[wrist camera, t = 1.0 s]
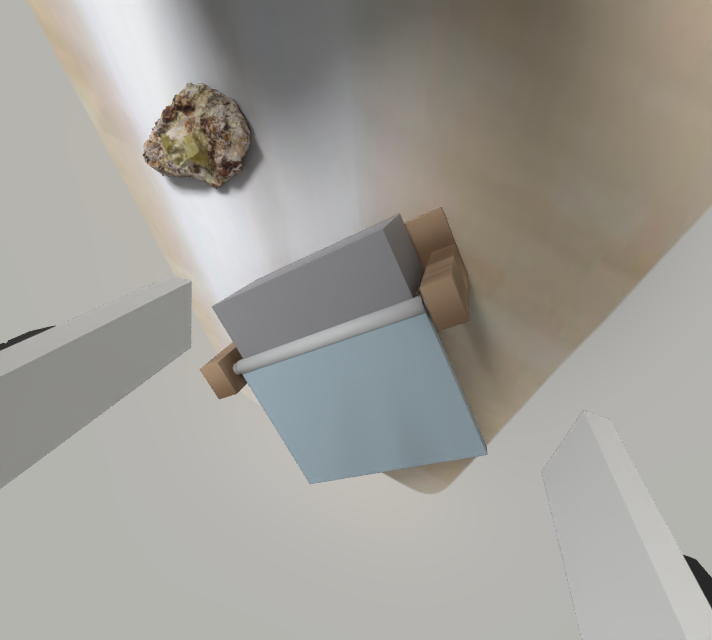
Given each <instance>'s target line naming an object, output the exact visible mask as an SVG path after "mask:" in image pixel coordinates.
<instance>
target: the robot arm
mask: <svg viewBox="0 0 712 640" xmlns="http://www.w3.org/2000/svg"><path fill="white" fill-rule="evenodd" d="M191 282H192V281H189V280H186V279H183V278H180V277H177V276H174V275H170V276H168V277H166V278H163V279H161V280H159V281H157V282H154V283H152V284H150V285H148V286H146V287H143V288H141V289H139V290H136V291H134V292H132V293H130V294H127V295H125V296H123V297H121V298H118V299H116V300H114V301H112V302H109V303H107V304H105V305H103V306H100V307H98V308H96V309H94V310H91V311H89V312H87V313H85V314H82V315H80V316H78V317H76V318H73V319H71V320H69V321H67V322H64V323H62V324H60V325H57V326H51V327H46V328H42V329H38V330H34V331H29V332H27V333H25V334H22V335H20V336H18V337H15V338H13V339H11V340H8V342H7V343H6V344H5V343H2V344H0V489H1V488H2V487H3V486H5V485H6V484H8V483H9V482H10V481H12V480H13V479H14V478H15V477H17V476H18V475H20V474H21V473H23V472H24V471H25V470H26V469H28V468H29V467H31V466H32V465H33V464H35V463H36V462H37V461H39V460H40V459H41V458H43V457H44V456H45V455H47V454H48V453H49V452H51V451H52V450H53V449H55V448H56V447H58V446H59V445H60V444H62V443H63V442H64V441H65V440H67V439H68V438H70V437H71V436H72V435H74V434H75V433H76V432H78V431H79V430H80V429H81V428H83V427H85V426H86V425H87V424H89V423H90V422H91V421H92V420H94V419H95V418H97V417H98V416H99V415H101V414H102V413H103V412H105V411H106V410H107V409H109V408H110V407H111V406H113V405H114V404H115V403H117V402H118V401H120V400H121V399H122V398H124V397H125V396H126V395H128V394H129V393H130V392H132V391H133V390H134V389H136V388H137V387H138V386H140V385H141V384H143V383H144V382H145V381H146V380H148V379H149V378H151V377H152V376H153V375H155V374H156V373H157V372H159V371H160V370H161V369H163V368H164V367H165V366H167V365H168V364H169V363H171V362H172V361H173V360H175V359H176V358H177V357H179V356H180V355H182V354H183V353H184V352H186V351H187V350H188V349H190V348H191ZM542 476H543V480H544V484H545V489H546V493H547V497H548V501H549V505H550V510H551V514H552V518H553V522H554V526H555V530H556V535H557V539H558V542H559V547H560V551H561V555H562V560H563V564H564V568H565V572H566V576H567V581H568V584H569V589H570V593H571V597H572V601H573V606H574V609H575V614H576V618H577V622H578V626H579V630H580V635H581V639H582V640H712V577H711V576H710V575H709V574H708V573H707V572H706V571H705V569H704V568H703V567H702V566H701V565H700V564H699V562H698V561H697V560H696V559H693V558H691V557H688V556H685V555H683V554H682V553H681V551H680V549H679V547H678V545H677V543H676V542H675V540H674V538H673V536H672V534H671V532H670V530H669V528H668V527H667V525H666V523H665V521H664V519H663V517H662V515H661V514H660V512H659V510H658V508H657V506H656V504H655V502H654V500H653V499H652V497H651V495H650V493H649V491H648V489H647V487H646V486H645V484H644V482H643V480H642V478H641V476H640V474H639V473H638V471H637V469H636V467H635V465H634V463H633V462H632V459H631V458H630V456H629V454H628V452H627V450H626V448H625V446H624V445H623V443H622V441H621V439H620V437H619V435H618V433H617V432H616V430H615V428H614V426H613V424H612V422H611V420H610V419H608V418H605V417H602V416H599V415H596V414H593V413H590V412H587V411H584V410H583V411H582V413H581V414H580V416H579V417H578V419H577V420H576V422H575V423H574V425H573V426H572V428H571V429H570V431H569V432H568V434H567V435H566V437H565V438H564V440H563V441H562V442H561V444H560V446H559V447H558V449H557V450H556V451H555V453H554V454H553V456H552V457H551V459H550V460H549V462H548V463H547V465H546V466H545V468H544V469H543V471H542Z"/></svg>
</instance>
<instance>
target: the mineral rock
mask: <svg viewBox="0 0 712 640" xmlns="http://www.w3.org/2000/svg"><path fill="white" fill-rule="evenodd" d="M155 125H156V127H154V129H152V130H153V131H152V132H151V135H150V138H149V140H147V141H146V142H145V143H144V154H143V156H144V159H145V162H146V163H147V164H148V165H149V166H151V167H152V168H154V169H155V170H157V171H158V172H160V173H161V174H162V175H163V176H164V175H167V176H171V177H175V176H177V177H183V176H188V177H194V178H195V179H198V180H200V181H204V180H206V182H207V183H208V184H209V185H211V186H213V187H214V188H217V187H218V186H219V187H220V186H221V185H222V183H223V182H224V183H227V182H228V180H229V179H230V178H231V177H232V176H234V174H238V173H239V172H241V171H242V169H243V165H242V164H241V162H242V157H243V156H246V153H247V151H248V149H249V145H250V140H249V138H250V135H249V134H250V130H249V129H248V127H247V124H246V118H245V117H243V116H242V114H241V113H240V111H239V108H238V106H237V104H236V101H234V100H233V99H231V98H226V97H225V95H223V94H221V93H220V92H219V91H217V90H214V89H210V88H209V87H208V86H207V85H205V84H202V83H199V84H197V85H193V84H191V83H187V85H186V88H185V89H184V90H182V91H181V92H180V93H179V95H175V97H174V99H173V101H172V105H170V106H167V107H166V109H165V110H163V112H162V114H161V118H160V119H158V121H157V122H155Z"/></svg>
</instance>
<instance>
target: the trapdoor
mask: <svg viewBox="0 0 712 640" xmlns="http://www.w3.org/2000/svg"><path fill="white" fill-rule="evenodd" d="M423 271H424V270H423V267H422V265H421V263H420V260H419V258H418V256H417V253H416V251H415V248H414V246H413V244H412V241H411V239H410V237H409V234H408V232H407V229H406V227H405V225H404V222H403V220H402V218H401V215H400V214H398V215H395V216H393V217H391V218H389V219H387V220H385V221H382V222H380V223H378V224H376V225H374V226H372V227H369V228H367V229H365V230H363V231H361V232H359V233H357V234H354V235H352V236H350V237H348V238H346V239H344V240H341V241H339V242H337V243H335V244H333V245H331V246H328V247H326V248H324V249H322V250H320V251H318V252H316V253H313V254H311V255H309V256H307V257H305V258H303V259H300V260H298V261H296V262H294V263H292V264H290V265H287V266H285V267H283V268H281V269H279V270H277V271H275V272H272V273H270V274H268V275H266V276H264V277H262V278H259V279H257V280H255V281H254V282H252V283H250V284H249V285H247V286H245V287H244V288H242V289H240V290H239V291H237V292H235V293H234V294H232V295H230V296H229V297H227V298H225V299H224V300H222V301H220V302H219V303H217V304H215V305H214V306H212V308H213V310H214V311H215V313H216V315H217V316H218V318H219V319H220V321H221V323H222V324H223V326H224V328H225V329H226V331H227V333H228V334H229V336H230V338H231V339H232V341H233V343H234V344H235V346H236V348H237V349H238V351H239V352H240V354H241V356H242V357H243V359H242V360H239V361H238V362H237V370H238V372H239V373H240V374H243V376H244V378H245V380H246V381H247V383H248V385H249V386H250V388H251V389H252V391H253V393H254V394H255V396H256V398H257V399H258V401H259V402H260V404H261V406H262V407H263V409H264V411H265V412H266V414H267V415H268V417H269V419H270V420H271V422H272V424H273V425H274V426H275V428H276V430H277V432H278V433H279V435H280V437H281V438H282V440H283V441H284V443H285V445H286V446H287V448H288V450H289V451H290V453H291V454H292V456H293V458H294V459H295V461H296V463H297V464H298V466H299V467H300V469H301V471H302V472H303V474H304V475H305V477H306V479H307V480H308V482H309V484H314V483H320V482H326V481H332V480H338V479H344V478H350V477H356V476H362V475H368V474H374V473H380V472H386V471H392V470H398V469H404V468H410V467H416V466H422V465H429V464H435V463H441V462H447V461H453V460H459V459H465V458H471V457H477V456H482V455H487V447H486V444H485V442H484V440H483V437H482V435H481V433H480V430H479V428H478V426H477V423H476V421H475V419H474V417H473V414H472V412H471V410H470V407H469V405H468V403H467V400H466V398H465V396H464V393H463V391H462V389H461V386H460V384H459V382H458V380H457V377H456V375H455V373H454V370H453V368H452V366H451V363H450V361H449V359H448V356H447V354H446V352H445V349H444V347H443V345H442V342H441V340H440V338H439V336H438V333H437V331H436V329H435V326H434V324H433V322H432V319H431V317H430V315H429V312H428V310H427V308H426V306H425V303H424V299H423V297H422V296H421V295H420V296H417V297H415V294H416V291H417V288H418V285H419V282H420V279H421V277H422V274H423ZM414 297H415V298H414Z"/></svg>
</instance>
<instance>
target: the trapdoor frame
mask: <svg viewBox="0 0 712 640" xmlns="http://www.w3.org/2000/svg"><path fill="white" fill-rule="evenodd" d="M404 225H405V227H406V229H407V232H408V234H409V237H410V239H411V241H412V244H413V246H414V248H415V251H416V253H417V256H418V258H419V260H420V263H421V265H422V267H423V270H424V271H423V274H422V277H421V279H420V282H421V285H420V288H419V289H420V291H421V293H422V296H423V299H424V303H425V306H426V308H427V309H428V310H429V312H430V314H431V317H432V319H433V321H434V324H435V326H436V328H437V331H439V330H442V329H445V328H449V327H452V326H455V325H458V324H461V323H465V322H468V321H469V301H468V274H467V271H466V269H465V266H464V264H463V261H462V258H461V256H460V253H459V251H458V248H457V246H456V243H455V240H454V238H453V235H452V233H451V230H450V227H449V225H448V222H447V220H446V217H445V215H444V212H443V209H442V207H440V208H438V209H436V210H434V211H431V212H429V213H427V214H425V215H422V216H420V217H418V218H416V219H414V220H411V221H409V222H407V223H405V224H404ZM242 359H243V357H242V356H241V354H240V352H239V351H238V349H237V348H236V346H235V344H234V343H231V344H230V345H229V346H228V347H226V348H225V349H224V350H223V351H221V352H220V353H219V354H218V355H217V356H215V357H214V358H213V359H212V360H210V361H209V362H208V363H207V364H206V365H204V366H203V367H202V368H200V371H201V372H202V374H203V375H204V377H205V378H206V380H207V381H208V383H209V385H210V386H211V388H212V389H213V391H214V392H215V394H216V395H217V397H218V398H219V399H221V398H225V397H228V396H231V395H234V394H237V393H238V392H239V391H240V390H241V389H242V388H243V387H244V386H245V385H246V384H247V381H246V380H245V378H244V376H243V374H240V373H239V372H238V370H237V362H238V361H239V360H242Z"/></svg>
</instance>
